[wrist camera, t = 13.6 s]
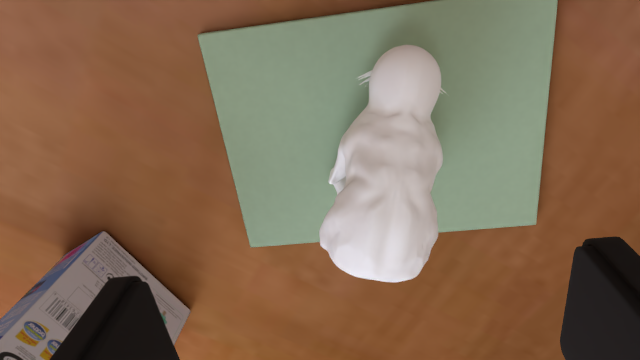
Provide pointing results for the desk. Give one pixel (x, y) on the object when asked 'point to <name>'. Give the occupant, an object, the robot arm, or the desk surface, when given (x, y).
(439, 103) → the desk mat
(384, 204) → the white figurine
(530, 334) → the desk surface
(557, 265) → the desk surface
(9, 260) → the desk surface
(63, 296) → the ink cartridge box
